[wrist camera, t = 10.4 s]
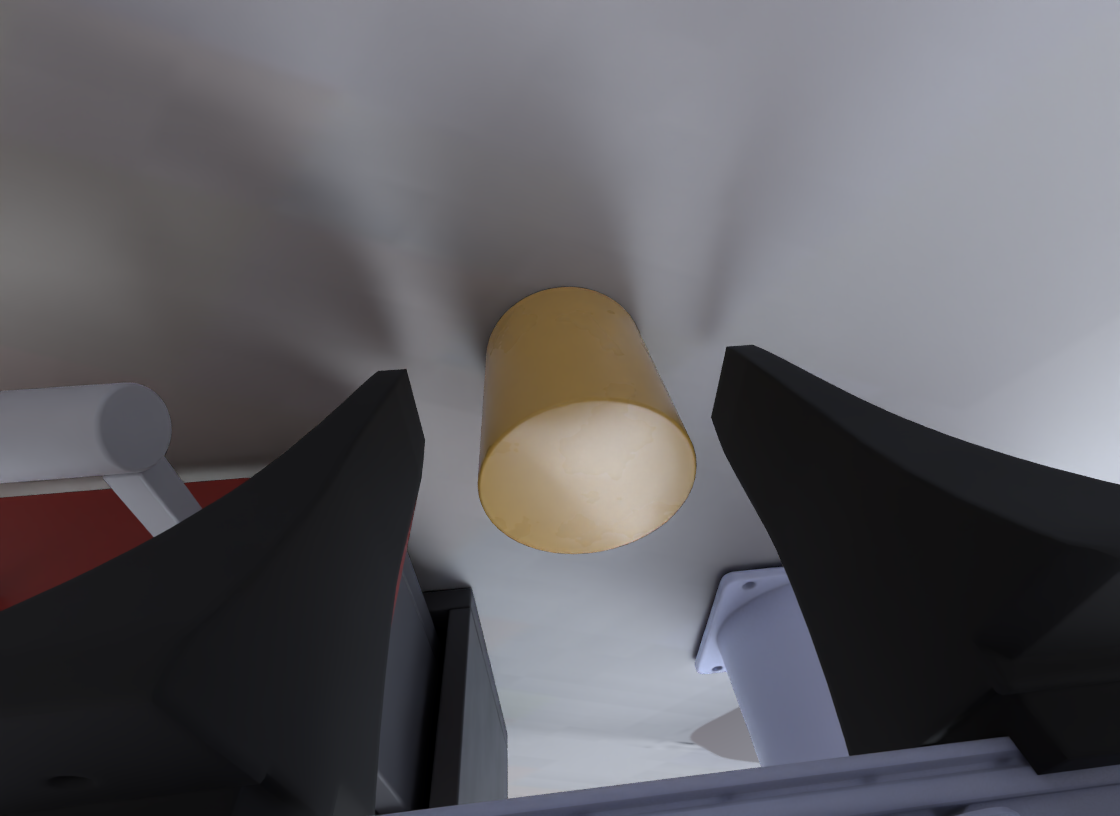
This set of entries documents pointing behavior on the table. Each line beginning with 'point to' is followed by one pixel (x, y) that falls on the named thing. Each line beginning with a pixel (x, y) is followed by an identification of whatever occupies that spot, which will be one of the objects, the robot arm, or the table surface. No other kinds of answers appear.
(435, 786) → the dark grey box
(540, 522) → the yellow wooden cylinder
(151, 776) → the robot arm
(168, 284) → the table surface
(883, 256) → the table surface
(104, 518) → the drawer
